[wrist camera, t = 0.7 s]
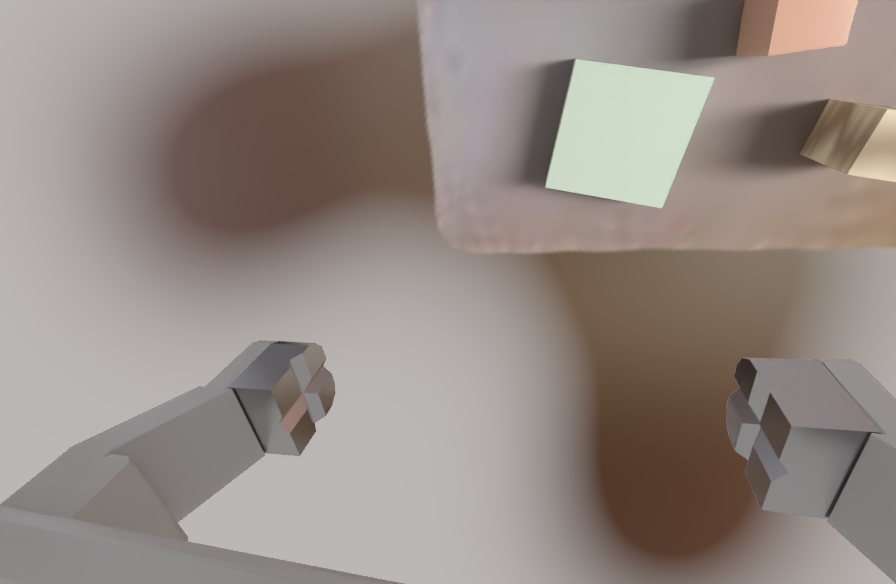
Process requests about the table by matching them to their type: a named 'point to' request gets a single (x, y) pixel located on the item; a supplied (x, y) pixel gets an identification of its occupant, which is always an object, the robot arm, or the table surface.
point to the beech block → (855, 139)
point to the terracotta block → (793, 25)
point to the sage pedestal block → (624, 131)
